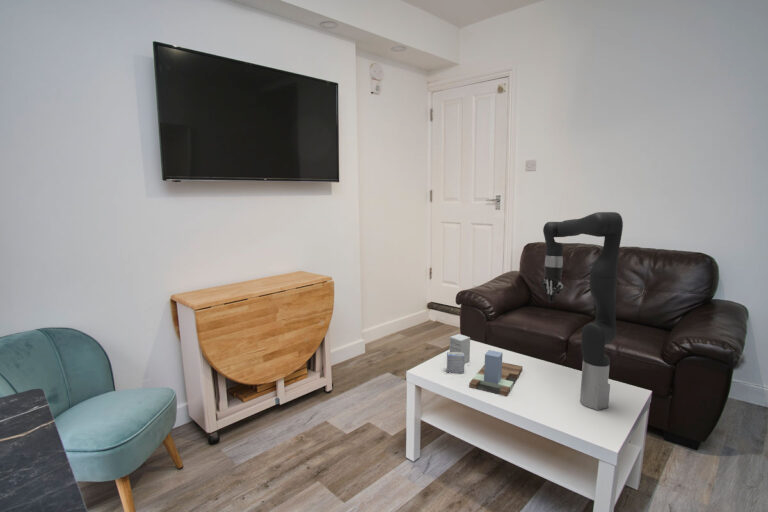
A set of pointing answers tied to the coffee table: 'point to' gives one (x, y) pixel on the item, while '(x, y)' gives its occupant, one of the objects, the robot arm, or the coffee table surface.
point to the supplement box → (460, 345)
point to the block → (493, 366)
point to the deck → (508, 373)
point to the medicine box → (455, 362)
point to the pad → (499, 385)
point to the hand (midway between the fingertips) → (551, 302)
